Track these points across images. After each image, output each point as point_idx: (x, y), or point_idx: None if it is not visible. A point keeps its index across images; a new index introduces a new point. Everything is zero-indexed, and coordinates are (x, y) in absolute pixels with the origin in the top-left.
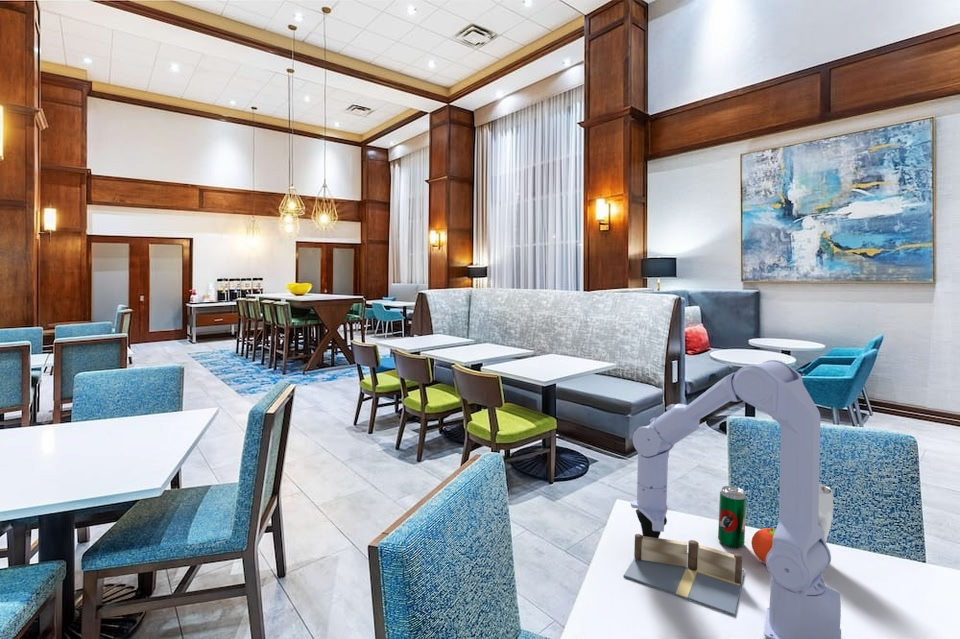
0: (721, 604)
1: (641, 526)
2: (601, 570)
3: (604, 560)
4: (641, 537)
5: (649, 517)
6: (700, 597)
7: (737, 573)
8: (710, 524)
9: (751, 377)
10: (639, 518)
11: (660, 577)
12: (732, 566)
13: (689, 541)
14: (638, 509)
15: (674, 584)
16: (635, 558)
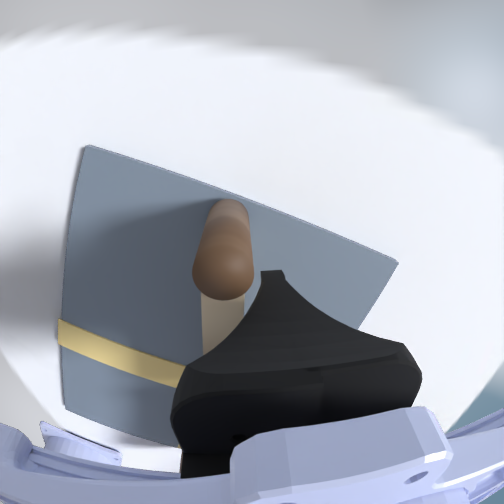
0: (80, 400)
1: (283, 323)
2: (115, 48)
3: (200, 52)
4: (205, 289)
5: (17, 488)
6: (78, 372)
7: (180, 467)
8: (451, 412)
9: None
10: (182, 390)
11: (121, 290)
12: None
13: None
14: (208, 478)
15: (101, 326)
16: (215, 204)
